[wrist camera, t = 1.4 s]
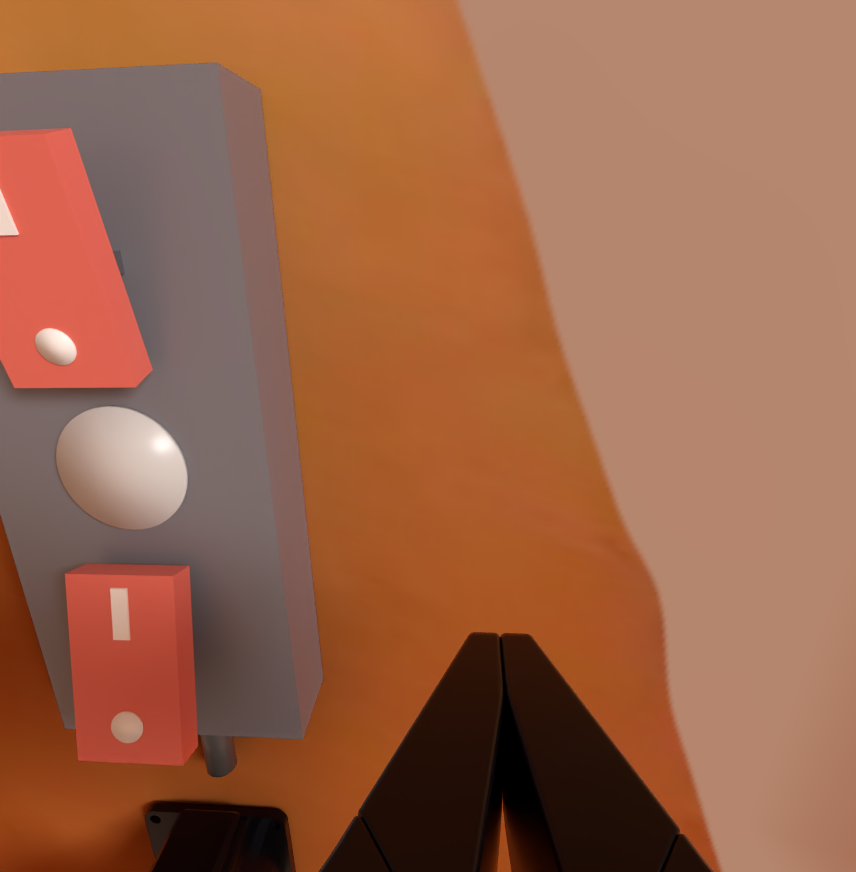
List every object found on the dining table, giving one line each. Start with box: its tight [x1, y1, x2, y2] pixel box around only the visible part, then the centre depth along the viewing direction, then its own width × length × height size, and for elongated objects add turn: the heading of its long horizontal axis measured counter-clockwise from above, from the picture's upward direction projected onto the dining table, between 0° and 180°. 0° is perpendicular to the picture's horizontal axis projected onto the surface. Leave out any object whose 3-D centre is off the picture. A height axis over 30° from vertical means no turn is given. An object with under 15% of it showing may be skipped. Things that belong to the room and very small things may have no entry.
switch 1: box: [0, 128, 153, 388], centre depth 14 cm, size 6×3×1 cm, turn 2°
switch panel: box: [0, 63, 323, 777], centre depth 20 cm, size 25×9×4 cm, turn 1°
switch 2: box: [65, 563, 198, 766], centre depth 18 cm, size 6×3×1 cm, turn 1°
